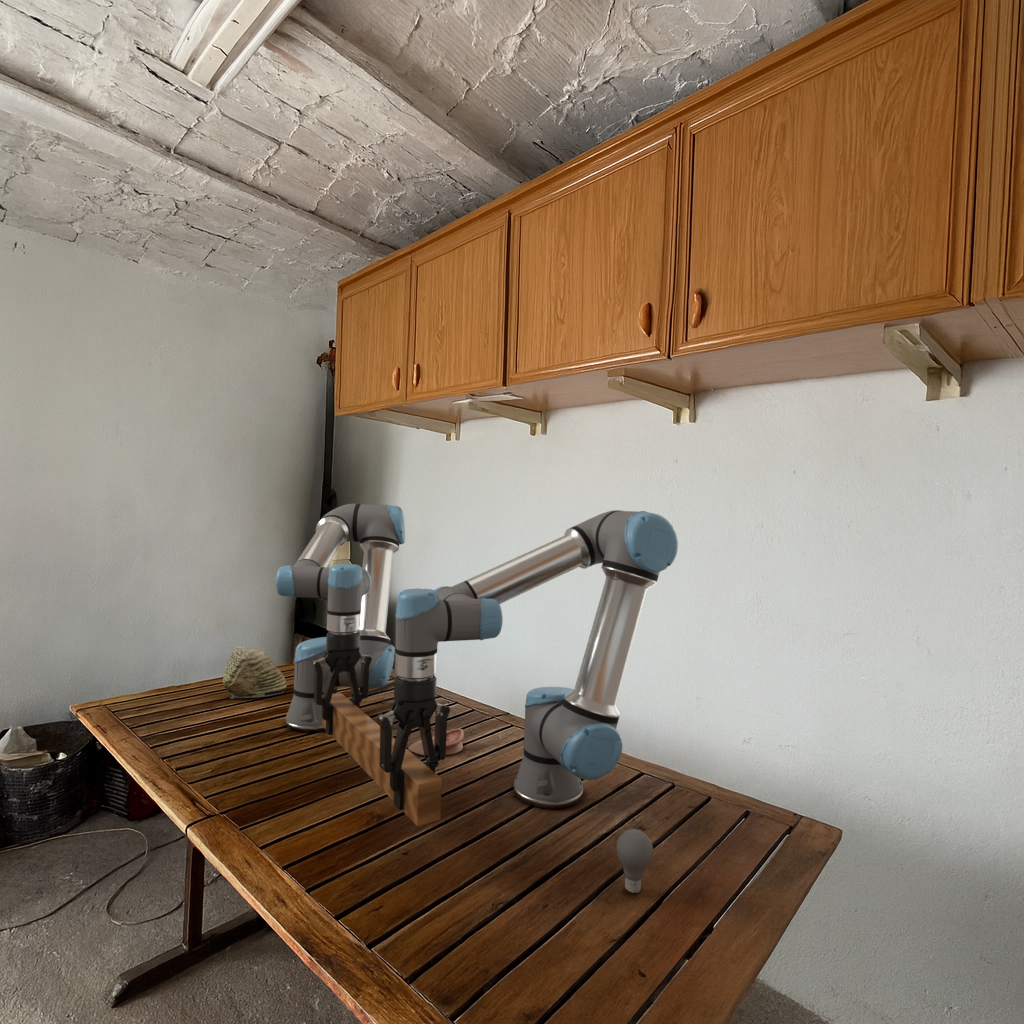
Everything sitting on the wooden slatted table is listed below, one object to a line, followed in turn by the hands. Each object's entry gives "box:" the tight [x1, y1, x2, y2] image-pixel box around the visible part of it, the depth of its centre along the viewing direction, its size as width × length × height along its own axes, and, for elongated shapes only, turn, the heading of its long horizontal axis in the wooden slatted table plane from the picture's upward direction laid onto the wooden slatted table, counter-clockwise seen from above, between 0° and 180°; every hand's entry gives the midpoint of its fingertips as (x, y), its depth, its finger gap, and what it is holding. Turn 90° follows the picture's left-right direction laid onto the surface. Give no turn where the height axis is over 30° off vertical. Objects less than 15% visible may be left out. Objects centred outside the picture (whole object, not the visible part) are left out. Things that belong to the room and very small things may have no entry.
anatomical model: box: [407, 728, 465, 756], centre depth 162 cm, size 13×4×12 cm
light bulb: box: [615, 828, 654, 894], centre depth 106 cm, size 6×6×10 cm
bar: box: [322, 692, 443, 827], centre depth 131 cm, size 53×4×7 cm, turn 34°
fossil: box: [222, 646, 288, 699], centre depth 198 cm, size 9×18×15 cm, turn 132°
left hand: (340, 730), depth 147 cm, fingers closed on bar, 5 cm apart
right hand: (412, 802), depth 115 cm, fingers closed on bar, 4 cm apart
